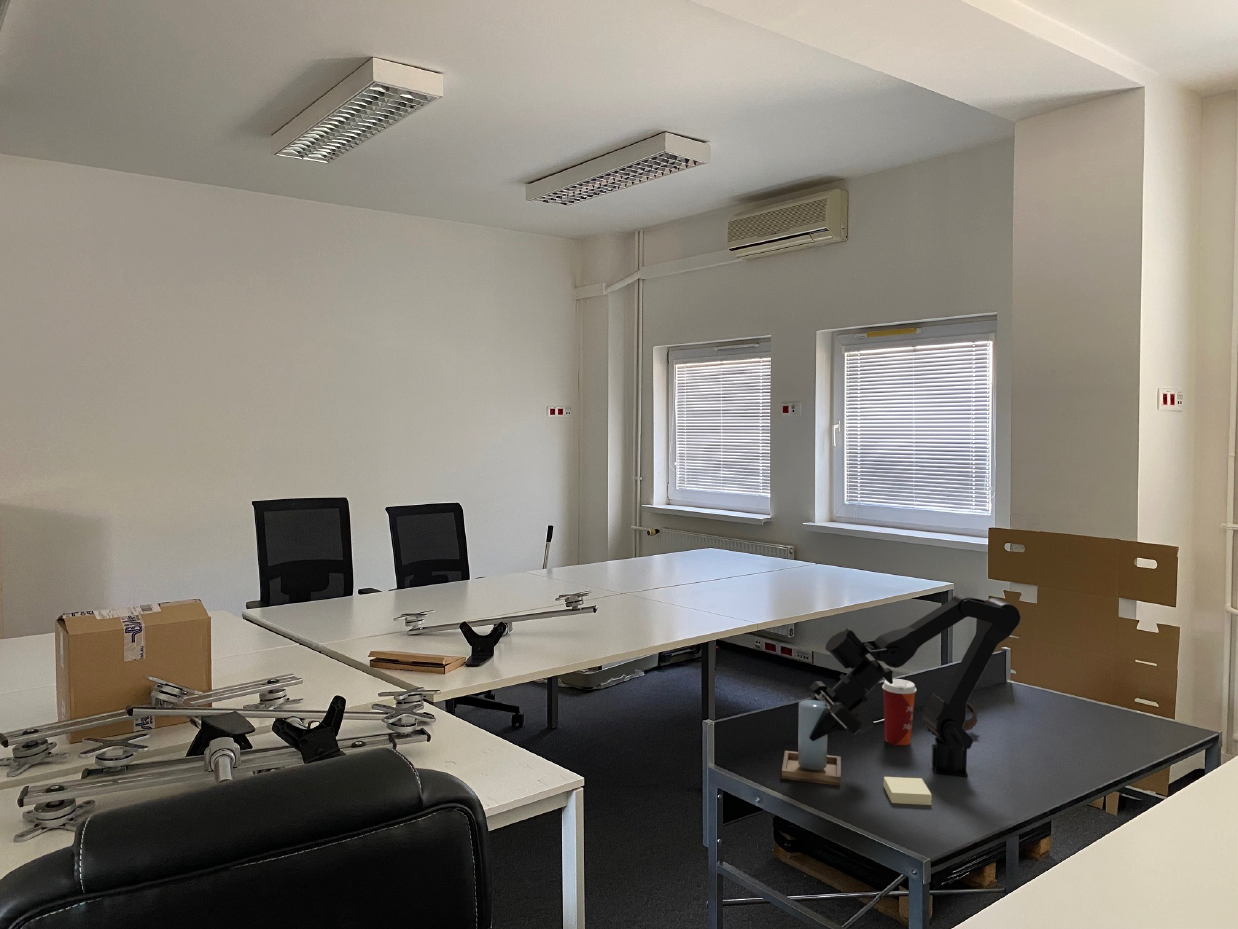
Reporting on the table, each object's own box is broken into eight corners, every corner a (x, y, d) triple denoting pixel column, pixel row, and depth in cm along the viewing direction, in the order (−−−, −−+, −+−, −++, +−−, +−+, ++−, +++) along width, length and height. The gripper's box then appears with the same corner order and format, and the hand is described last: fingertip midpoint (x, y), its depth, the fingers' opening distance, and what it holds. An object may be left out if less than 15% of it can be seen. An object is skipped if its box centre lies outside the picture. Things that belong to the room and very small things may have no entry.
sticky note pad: (921, 790, 177) (921, 778, 177) (931, 807, 169) (931, 794, 169) (883, 788, 178) (883, 776, 177) (891, 805, 170) (892, 792, 170)
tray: (840, 764, 188) (840, 756, 188) (840, 785, 178) (840, 777, 177) (784, 758, 191) (785, 750, 191) (781, 778, 181) (781, 770, 180)
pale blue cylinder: (830, 762, 185) (831, 703, 184) (821, 772, 180) (822, 711, 179) (803, 756, 188) (804, 698, 188) (794, 766, 183) (794, 706, 183)
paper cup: (916, 749, 198) (918, 689, 197) (882, 746, 199) (884, 686, 198) (912, 736, 205) (914, 679, 205) (879, 734, 207) (880, 676, 206)
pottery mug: (973, 725, 215) (982, 703, 210) (967, 753, 208) (977, 731, 203) (924, 707, 219) (932, 685, 215) (917, 733, 212) (925, 711, 208)
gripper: (900, 724, 175) (846, 778, 175) (868, 694, 194) (819, 743, 194) (863, 686, 174) (809, 741, 174) (834, 660, 193) (785, 709, 193)
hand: (806, 734), depth 184 cm, fingers closed on pale blue cylinder, 6 cm apart
